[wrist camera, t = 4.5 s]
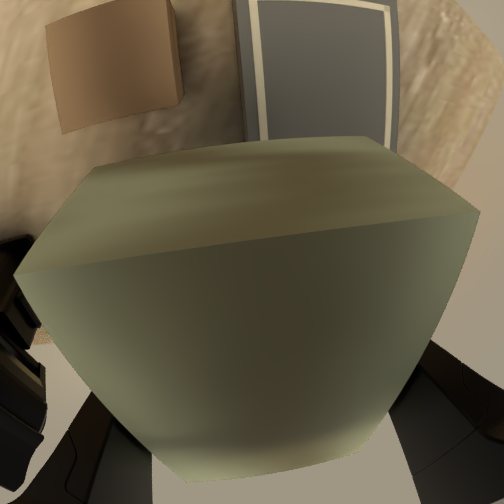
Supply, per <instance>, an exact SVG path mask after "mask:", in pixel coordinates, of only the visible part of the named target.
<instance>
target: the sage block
mask: <svg viewBox="0 0 504 504" xmlns="http://www.w3.org/2000/svg"><path fill="white" fill-rule="evenodd" d="M479 215H480V211H479V210H478V209H477V208H475V207H474V206H473V205H471V204H470V203H469V202H467V201H466V200H465V199H463V198H462V197H461V196H459V195H458V194H457V193H455V192H454V191H453V190H451V189H450V188H448V187H447V186H445V185H444V184H443V183H441V182H440V181H438V180H437V179H435V178H434V177H432V176H431V175H429V174H428V173H426V172H425V171H423V170H422V169H420V168H419V167H417V166H416V165H414V164H412V163H411V162H409V161H408V160H406V159H404V158H403V157H401V156H399V155H398V154H396V153H394V152H393V151H391V150H389V149H388V148H386V147H384V146H382V145H381V144H379V143H377V142H375V141H374V140H372V139H370V138H368V137H366V136H331V137H306V138H289V139H275V140H263V141H252V142H242V143H233V144H225V145H216V146H209V147H201V148H194V149H188V150H181V151H175V152H169V153H163V154H157V155H152V156H146V157H141V158H136V159H131V160H126V161H121V162H117V163H112V164H108V165H103V166H99V167H95V168H94V169H93V170H92V171H91V172H90V173H89V174H88V175H87V176H86V178H85V179H84V180H83V181H82V182H81V183H80V185H79V186H78V187H77V188H76V189H75V190H74V192H73V193H72V194H71V195H70V197H69V198H68V199H67V200H66V201H65V203H64V204H63V205H62V206H61V208H60V209H59V210H58V212H57V213H56V214H55V215H54V217H53V218H52V219H51V221H50V222H49V223H48V225H47V226H46V227H45V229H44V230H43V232H42V233H41V234H40V236H39V237H38V239H37V240H36V241H35V243H34V244H33V246H32V247H31V249H30V250H29V252H28V253H27V255H26V256H25V258H24V259H23V261H22V262H21V264H20V265H19V267H18V268H17V270H16V272H15V273H14V275H13V276H14V278H15V279H16V281H17V283H18V285H19V287H20V288H21V290H22V292H23V294H24V296H25V297H26V299H27V301H28V302H29V304H30V306H31V307H32V309H33V311H34V312H35V314H36V315H37V317H38V319H39V320H40V322H41V323H42V325H43V326H44V328H45V329H46V331H47V332H48V334H49V335H50V337H51V338H52V340H53V341H54V343H55V344H56V345H57V347H58V348H59V350H60V351H61V352H62V354H63V355H64V356H65V358H66V359H67V360H68V362H69V363H70V364H71V366H72V367H73V368H74V370H75V371H76V372H77V373H78V375H79V376H80V377H81V378H82V380H83V381H84V382H85V383H86V385H87V386H88V387H89V388H90V389H91V391H92V392H93V393H94V394H95V395H96V396H97V398H98V399H99V400H100V401H101V402H102V403H103V404H104V405H105V407H106V408H107V409H108V410H109V411H110V412H111V413H112V414H113V415H114V416H115V417H116V418H117V420H118V421H119V422H120V423H121V424H122V425H123V426H124V427H125V428H126V429H127V430H128V431H129V432H130V433H131V434H132V435H133V436H134V437H135V438H136V439H137V440H138V441H139V442H140V443H142V444H143V445H144V446H145V447H146V448H147V449H148V450H149V451H150V452H151V453H152V454H154V455H155V456H156V457H157V458H158V459H159V460H160V461H162V462H163V463H164V464H165V465H166V466H167V467H168V468H170V469H171V470H172V471H173V472H174V473H176V474H177V475H178V476H179V477H180V478H182V479H183V480H184V481H185V482H203V481H216V480H227V479H237V478H245V477H252V476H259V475H265V474H271V473H277V472H282V471H288V470H292V469H297V468H302V467H306V466H310V465H314V464H318V463H322V462H326V461H330V460H334V459H337V458H341V457H344V456H348V455H351V454H354V453H357V452H359V450H360V449H361V448H362V447H363V445H364V444H365V443H366V441H367V440H368V439H369V437H370V436H371V435H372V433H373V432H374V430H375V429H376V428H377V426H378V425H379V424H380V422H381V421H382V419H383V418H384V416H385V415H386V413H387V412H388V410H389V409H390V407H391V406H392V404H393V403H394V401H395V400H396V398H397V397H398V395H399V394H400V392H401V390H402V389H403V387H404V385H405V384H406V382H407V381H408V379H409V377H410V375H411V374H412V372H413V370H414V369H415V367H416V365H417V363H418V361H419V360H420V358H421V356H422V354H423V352H424V351H425V349H426V347H427V345H428V343H429V341H430V339H431V337H432V335H433V333H434V331H435V329H436V327H437V325H438V323H439V321H440V319H441V316H442V314H443V312H444V310H445V308H446V306H447V303H448V301H449V299H450V296H451V294H452V292H453V289H454V287H455V284H456V282H457V279H458V277H459V274H460V272H461V269H462V266H463V264H464V261H465V258H466V256H467V253H468V250H469V247H470V244H471V241H472V238H473V235H474V232H475V228H476V225H477V222H478V219H479Z"/></svg>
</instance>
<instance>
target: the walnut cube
mask: <svg viewBox="0 0 504 504" xmlns="http://www.w3.org/2000/svg"><path fill="white" fill-rule="evenodd" d="M45 29H46V40H47V49H48V58H49V65H50V72H51V79H52V85H53V90H54V96H55V101H56V106H57V111H58V116H59V121H60V125H61V130H62V134H66V133H69V132H72V131H75V130H78V129H82V128H85V127H88V126H92V125H95V124H99V123H102V122H106V121H110V120H114V119H118V118H122V117H126V116H130V115H134V114H138V113H143V112H148V111H152V110H157V109H162V108H167V107H173V106H178V105H179V103H180V101H181V100H182V98H183V96H184V89H183V82H182V74H181V66H180V57H179V48H178V39H177V30H176V20H175V11H174V8H173V6H172V4H171V1H170V0H115V1H111V2H108V3H105V4H101V5H98V6H95V7H92V8H89V9H86V10H84V11H81V12H78V13H75V14H73V15H70V16H67V17H65V18H62V19H60V20H58V21H55V22H53V23H51V24H48V25H46V26H45Z"/></svg>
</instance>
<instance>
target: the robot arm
mask: <svg viewBox="0 0 504 504" xmlns="http://www.w3.org/2000/svg"><path fill="white" fill-rule="evenodd" d="M26 241H27V242H28V243H29V244H28V243H26ZM34 243H35V242H34V240H33V238H32V237H31V236H30V235H23V236H19V237H15V238H11V239H8V240H4V241H1V242H0V486H1V487H3V488H5V489H7V490H9V491H12V492H15V491H16V490H17V489H18V488H19V487H20V486H21V485H22V484H23V483H24V480H25V476H26V472H27V468H28V465H29V462H30V459H31V457H32V455H33V453H34V452H35V449H36V448H37V447H38V446H39V445H40V443H41V442H42V441H43V439H44V436H43V435H42V434H41V433H42V431H43V429H44V426H45V422H46V414H47V409H48V408H47V403H46V384H45V367H44V366H43V365H42V364H41V363H38V362H37V361H36V360H35V359H34V358H33V357H32V356H31V355H29V354H28V353H27V352H26V351H25V350H28V349H30V346H31V344H32V341H33V338H34V336H35V333H36V330H37V328H40V327H41V325H42V323H41V322H40V320H39V319H38V317H37V315H36V314H35V312H34V311H33V309H32V307H31V306H30V304H29V302H28V301H27V299H26V297H25V296H24V294H23V292H22V290H21V288H20V287H19V285H18V283H17V281H16V279H15V278H14V276H13V275H14V273H15V272H16V270H17V268H18V267H19V265H20V264H21V262H22V261H23V259H24V258H25V256H26V255H27V253H28V252H29V250H30V249H31V247H32V246H33V244H34ZM388 412H389V415H390V417H391V420H392V422H393V425H394V427H395V430H396V433H397V435H398V438H399V441H400V443H401V446H402V449H403V452H404V454H405V457H406V460H407V463H408V466H409V469H410V471H411V474H412V476H413V477H412V478H413V481H414V484H415V486H416V489H417V493H418V496H419V498H420V502H421V504H504V390H503V389H502V388H500V387H498V386H497V385H495V384H493V383H492V382H490V381H488V380H487V379H485V378H484V377H482V376H481V375H479V374H478V373H477V372H475V371H474V370H472V369H470V368H469V367H468V366H467V365H465V364H464V363H461V361H460V360H458V359H457V358H456V357H454V356H453V355H452V354H450V353H449V352H447V351H446V350H445V349H443V348H442V347H440V346H439V345H438V344H436V343H435V342H433V341H432V340H431V339H430V341H429V343H428V345H427V347H426V349H425V351H424V352H423V354H422V356H421V358H420V360H419V361H418V363H417V365H416V367H415V369H414V370H413V372H412V374H411V375H410V377H409V379H408V381H407V382H406V384H405V385H404V387H403V389H402V390H401V392H400V394H399V395H398V397H397V398H396V400H395V401H394V403H393V404H392V406H391V407H390V409H389V410H388ZM8 504H153V503H152V453H151V452H150V451H149V450H148V449H147V448H146V447H145V446H144V445H143V444H142V443H140V442H139V441H138V440H137V439H136V438H135V437H134V436H133V435H132V434H131V433H130V432H129V431H128V430H127V429H126V428H125V427H124V426H123V425H122V424H121V423H120V422H119V421H118V420H117V418H116V417H115V416H114V415H113V414H112V413H111V412H110V411H109V410H108V409H107V408H106V407H105V405H104V404H103V403H102V402H101V401H100V400H99V399H98V398H97V396H96V395H95V394H94V393H93V392H92V391H91V393H90V395H89V396H88V398H87V399H86V401H85V402H84V404H83V406H82V407H81V409H80V410H79V412H78V414H77V415H76V417H75V418H74V420H73V422H72V423H71V425H70V426H69V428H68V430H67V431H66V433H65V435H64V436H63V438H62V439H61V441H60V443H59V444H58V445H57V447H56V449H55V450H54V452H53V453H52V455H51V456H50V457H49V459H48V460H47V462H46V463H45V465H44V466H43V467H42V469H41V470H40V471H39V472H38V474H37V475H36V477H35V478H34V479H33V481H32V482H31V483H30V485H29V486H28V487H27V489H26V490H25V491H24V492H23V494H21V496H19V497H18V498H17V499H15V500H14V501H12V502H10V503H8Z"/></svg>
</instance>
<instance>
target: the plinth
mask: <svg viewBox="0 0 504 504" xmlns="http://www.w3.org/2000/svg"><path fill="white" fill-rule="evenodd" d="M232 6H233V17H234V27H235V38H236V48H237V59H238V69H239V80H240V91H241V101H242V112H243V123H244V134H245V142H252V141H263V140H275V139H289V138H306V137H331V136H366V137H368V138H370V139H372V140H374V141H375V142H377V143H379V144H381V145H382V146H384V147H386V148H388V149H389V150H391V151H393V152H394V153H396V150H397V137H398V121H399V97H400V49H399V27H398V12H397V1H396V0H232Z"/></svg>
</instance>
